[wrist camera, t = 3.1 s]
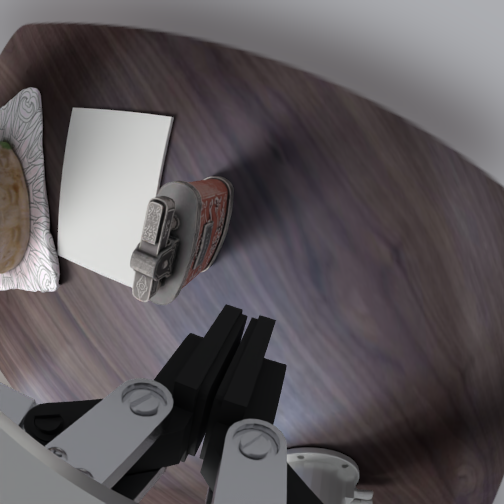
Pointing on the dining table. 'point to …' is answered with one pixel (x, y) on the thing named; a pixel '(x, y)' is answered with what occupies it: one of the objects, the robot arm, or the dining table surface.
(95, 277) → the dining table surface
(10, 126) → the cookie jar
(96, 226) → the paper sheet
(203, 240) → the lighter
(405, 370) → the dining table surface
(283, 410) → the dining table surface
